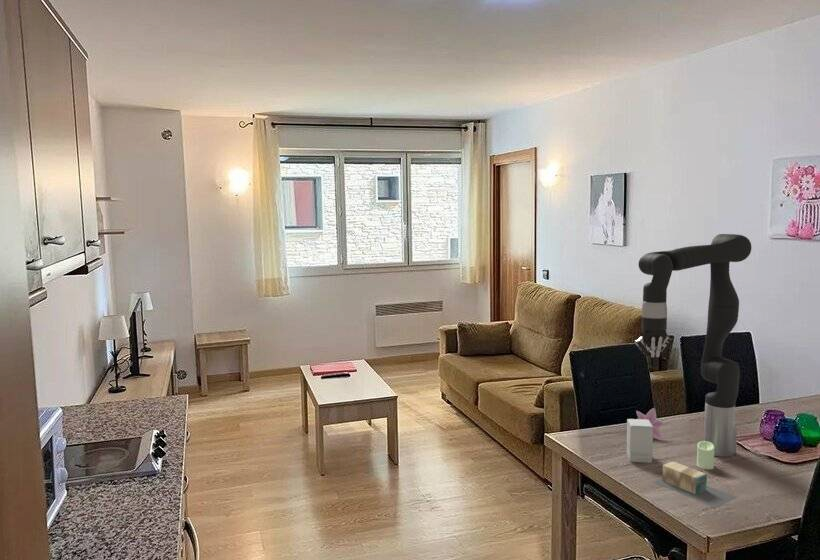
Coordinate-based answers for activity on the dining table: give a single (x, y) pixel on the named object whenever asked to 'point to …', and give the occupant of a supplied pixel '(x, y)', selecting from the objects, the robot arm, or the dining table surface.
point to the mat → (702, 494)
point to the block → (684, 477)
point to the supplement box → (639, 440)
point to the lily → (652, 422)
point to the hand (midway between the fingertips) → (653, 367)
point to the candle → (705, 455)
